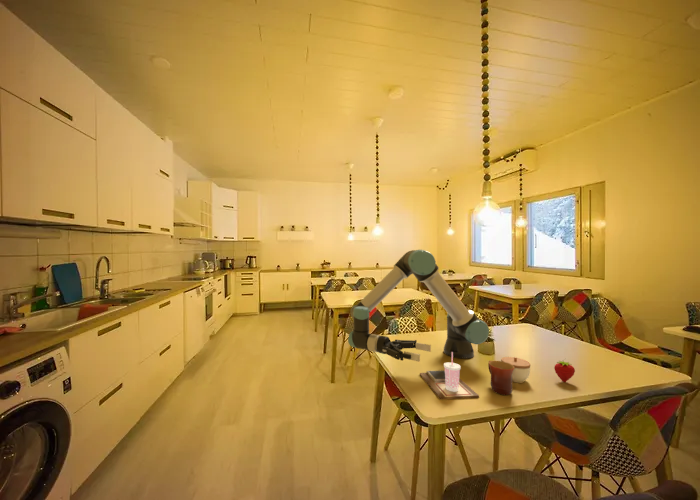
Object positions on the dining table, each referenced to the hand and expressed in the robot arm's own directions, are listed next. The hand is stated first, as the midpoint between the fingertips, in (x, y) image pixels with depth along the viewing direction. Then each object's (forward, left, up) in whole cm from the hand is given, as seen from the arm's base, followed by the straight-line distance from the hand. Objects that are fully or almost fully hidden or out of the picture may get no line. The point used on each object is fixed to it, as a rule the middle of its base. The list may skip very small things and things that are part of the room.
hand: (425, 352), depth 114 cm
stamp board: (-8, +3, -12) cm, 15 cm away
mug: (-27, +8, -12) cm, 31 cm away
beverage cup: (-8, +8, -11) cm, 16 cm away
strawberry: (-59, +4, -12) cm, 60 cm away
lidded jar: (-40, 0, -12) cm, 42 cm away
